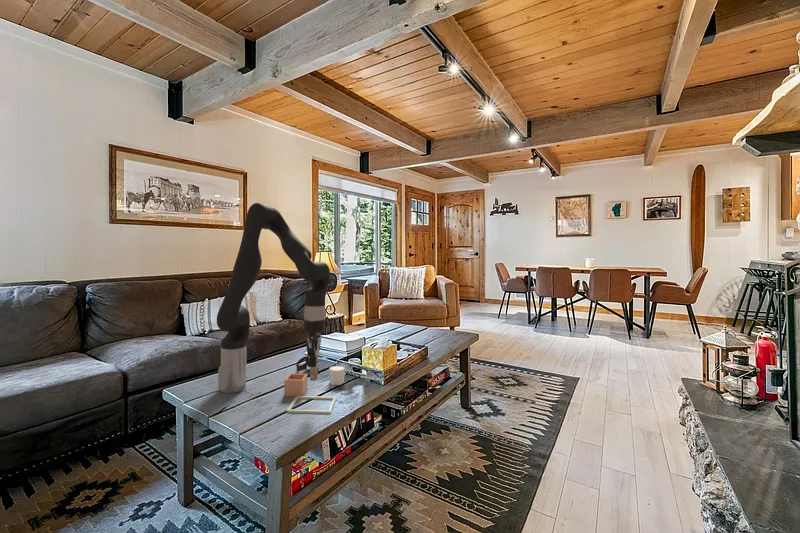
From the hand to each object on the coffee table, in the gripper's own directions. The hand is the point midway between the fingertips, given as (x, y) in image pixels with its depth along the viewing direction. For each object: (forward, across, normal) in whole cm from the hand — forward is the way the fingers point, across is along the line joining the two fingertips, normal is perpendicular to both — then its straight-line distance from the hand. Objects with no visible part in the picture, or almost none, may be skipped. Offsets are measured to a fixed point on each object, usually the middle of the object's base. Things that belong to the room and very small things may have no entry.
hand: (313, 365), depth 126 cm
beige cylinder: (+16, -22, +5) cm, 28 cm away
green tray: (+16, 0, 0) cm, 16 cm away
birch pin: (+5, 0, 0) cm, 5 cm away
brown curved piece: (+16, -36, -11) cm, 41 cm away
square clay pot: (+15, -10, -9) cm, 21 cm away
